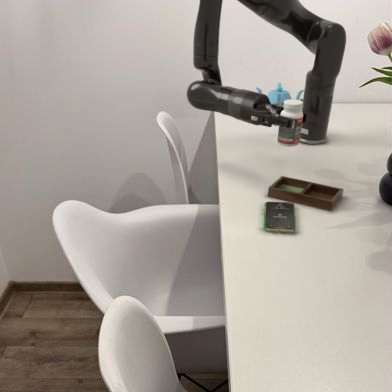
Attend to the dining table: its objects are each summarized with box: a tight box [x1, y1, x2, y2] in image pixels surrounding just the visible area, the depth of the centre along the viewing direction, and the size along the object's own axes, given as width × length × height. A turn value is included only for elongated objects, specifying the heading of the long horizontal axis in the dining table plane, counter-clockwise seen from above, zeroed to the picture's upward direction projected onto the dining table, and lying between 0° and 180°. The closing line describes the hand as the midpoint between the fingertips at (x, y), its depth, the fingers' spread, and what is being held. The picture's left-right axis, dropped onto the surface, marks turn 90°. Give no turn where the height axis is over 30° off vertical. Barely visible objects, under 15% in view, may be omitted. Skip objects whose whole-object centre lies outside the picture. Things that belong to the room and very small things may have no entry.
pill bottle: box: [276, 98, 303, 148], centre depth 122 cm, size 6×6×10 cm
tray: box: [267, 175, 345, 212], centre depth 127 cm, size 9×17×2 cm, turn 60°
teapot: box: [254, 81, 304, 105], centre depth 178 cm, size 13×13×10 cm
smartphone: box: [263, 201, 297, 234], centre depth 118 cm, size 8×1×15 cm
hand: (299, 121), depth 120 cm, fingers closed on pill bottle, 5 cm apart
